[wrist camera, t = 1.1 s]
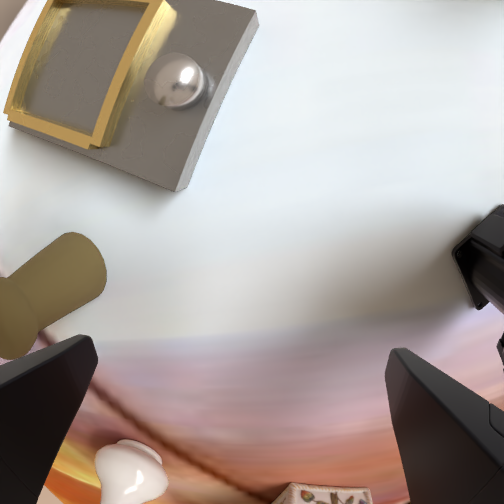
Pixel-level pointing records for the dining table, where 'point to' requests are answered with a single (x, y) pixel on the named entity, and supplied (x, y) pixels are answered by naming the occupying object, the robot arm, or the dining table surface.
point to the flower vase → (130, 473)
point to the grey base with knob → (130, 80)
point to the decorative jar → (323, 495)
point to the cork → (48, 290)
